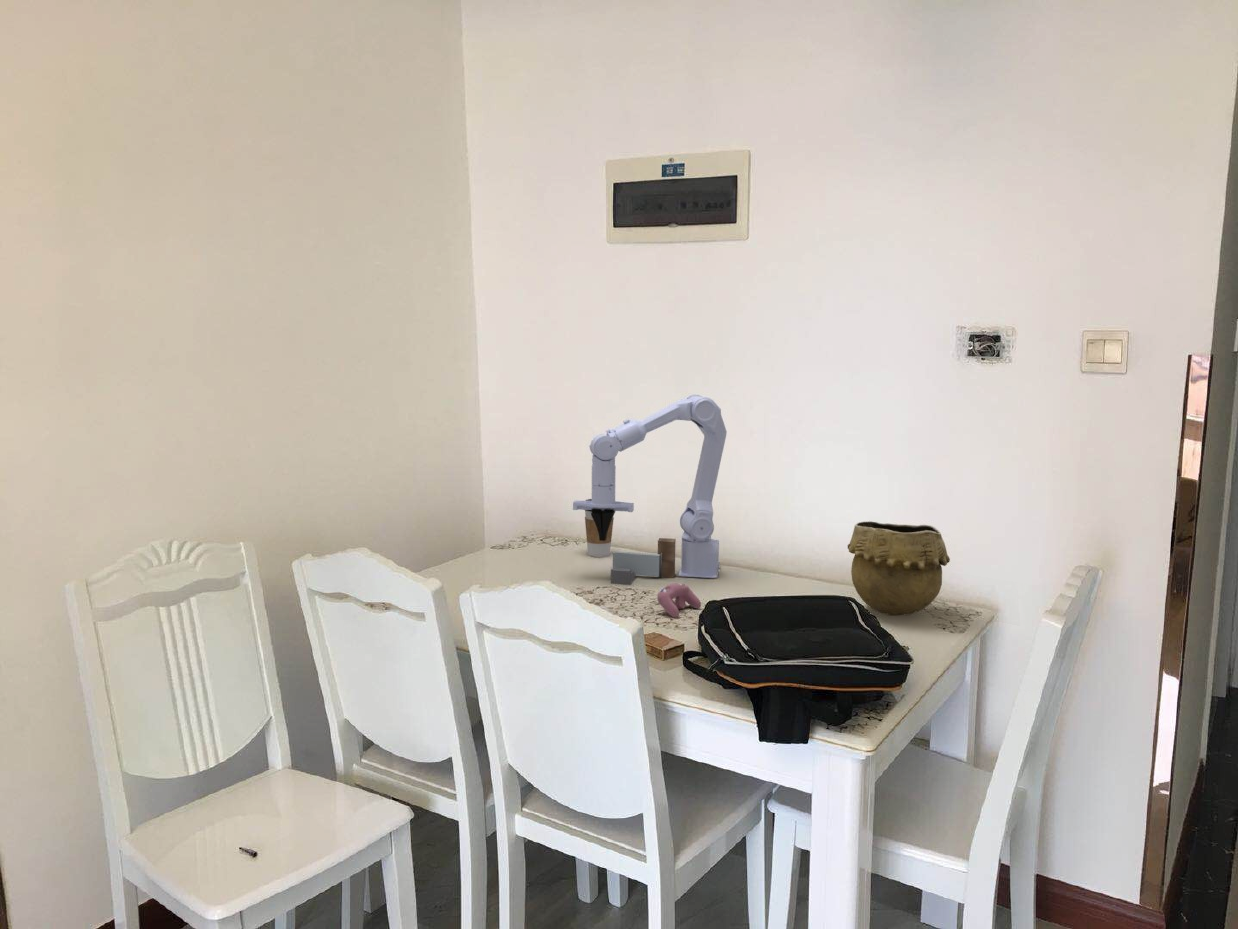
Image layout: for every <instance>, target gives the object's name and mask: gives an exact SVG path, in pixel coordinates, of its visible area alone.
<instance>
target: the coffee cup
mask: <svg viewBox="0 0 1238 929" xmlns="http://www.w3.org/2000/svg"><path fill="white" fill-rule="evenodd" d="M584 501H592V498H587V499H586V500H584ZM591 513H592V510H584V514H585V515H584V524H585V533H586V535H585V536H586V544H587V555H588V556H590V557H594V558H605V557H609V556H610V555H611V547H612V546H611V545H612V536H613V529H614V518H615V517H614V516H613V518H612V520H611V523H610V525H609V529H608V532H607V539H606V540H605V541H600V540H599V534H598V530H597V527H596V524H595V522H594V520H593V518H592V516H591Z"/></svg>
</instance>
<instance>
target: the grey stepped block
mask: <svg viewBox="0 0 1238 929" xmlns="http://www.w3.org/2000/svg"><path fill="white" fill-rule="evenodd" d="M636 577H637V575H636V574H634V572H632V571H631V569H624V568H613V567H612V568H611V569H610V584H613V585H625V586H630V584H631V583H632V582H633V581H634V580H635V579H637V578H636Z"/></svg>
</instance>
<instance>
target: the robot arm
mask: <svg viewBox="0 0 1238 929" xmlns="http://www.w3.org/2000/svg"><path fill="white" fill-rule="evenodd" d="M674 421H687V422H688V421H689V422H690V421H691V422H692V423H694V424H695V425H696V426H697V428H698V429H699V431H700V432H701V433H702V434H703V442H702V445H701V446H702V447H701V451H700V455H699V461H698V465H697V469H696V474H695V479H694V482H693V489H692V494H691V496H690V499H689V500H688V502H687V503H686V507H685V509H684V511H683V512H682V513H681V516H680V518H679V525H680V526H679V527H680V528H681V529H682V530H683V533H682V535H681V552H680V554H681V556H680V558H681V561H680V563H681V564H680V568H679V571H678V574H677V576H678V577H683V578H684V577H685V578H703V579H704V578H706V579H717V578H718V574H719V571H720V567H721V566H720V565H721V564H720V561H719V560H720V540H719V539H713V538H712V535H713V533H714V530H715V526H714V521H713V518H714V509H713V499H714V494H715V490H716V489H715V488H716V483H717V480H718V475H719V470H720V465H721V461H722V458H723V457H722V456H723V454H724V453H723V452H724V448H725V443H726V438H727V428H726V425H725V422H724V420H723V416H722V409H721V408H720V407H719V405H718V404H717V403H716V402H715V401H714V399H711V398H710V397H703V396H701V395H699V394H691V395H689V396H688V397H686V398H685V397H684V398H681V399H679V400H676V401H674V402H673V403H671V404H669V405H667V406H665V407H663V408H662V409H661V410H659V411H656V412H655V413H653V414H651V415H649V416H647V417H645V418H644V419H642V420H637V419H635V418H632V419H631V420H630V419H629V418H626V419H625V420H623V424H620V425H618V426H616V427H614V428H612V429H610V428H608V429H606V430H605V433H606V434H605V433H599V434H597V435H595V436H594V437H593V439H592V440H591V441H590V444H589V445H588V446H589V450H590V452H591V454H592V458H591V461H592V463H591V464H592V465H591V499H592V501H585V500H574V501H572V510H573V511H578V510H582V511H585V510H592V513H591V516H592V518H593V520H594V522H595V524H596V527H597V530H598V534H599V540H600V541H605V540H606V539H607V532H608V529H609V525H610V523H611V520H612V518H613V517H614V516H615V513H616V512H628V513H634V507H635V506H634V502H625V501H616V468H617V467H616V456H618V453H619V452H624V451H625V450H627V449H629V448H631V447H634V446H635V445H637V444H639V443H642V442H644V440H645V438H646V436H647V434H648V433H650V432H652V431H655V430H657V429H659V428H661V427H663V426H665V425H668V424H670V423H672V422H674Z"/></svg>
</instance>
